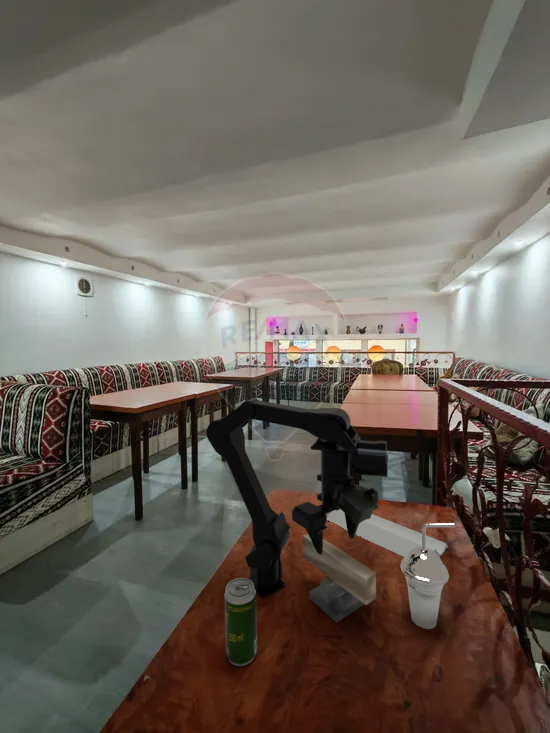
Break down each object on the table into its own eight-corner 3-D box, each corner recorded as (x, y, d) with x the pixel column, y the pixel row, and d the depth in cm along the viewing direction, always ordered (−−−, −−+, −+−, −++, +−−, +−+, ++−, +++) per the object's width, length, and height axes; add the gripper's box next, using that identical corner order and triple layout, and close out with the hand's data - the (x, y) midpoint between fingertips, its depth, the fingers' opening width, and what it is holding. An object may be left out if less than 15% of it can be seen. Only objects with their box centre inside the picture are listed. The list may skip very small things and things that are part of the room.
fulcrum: (336, 622, 66) (336, 595, 66) (309, 598, 73) (308, 573, 72) (364, 604, 71) (364, 578, 70) (336, 582, 77) (336, 559, 77)
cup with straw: (412, 596, 73) (413, 504, 71) (458, 621, 66) (459, 519, 65) (392, 618, 67) (392, 518, 66) (439, 648, 60) (441, 537, 59)
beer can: (256, 639, 63) (255, 575, 62) (258, 666, 57) (256, 597, 57) (226, 642, 62) (224, 578, 62) (225, 669, 57) (223, 600, 56)
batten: (366, 605, 63) (365, 578, 63) (302, 557, 78) (302, 535, 78) (375, 598, 65) (375, 572, 65) (312, 552, 80) (312, 531, 79)
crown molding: (447, 550, 90) (448, 537, 90) (427, 571, 82) (427, 557, 81) (348, 509, 113) (348, 498, 113) (324, 522, 105) (324, 511, 105)
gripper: (329, 497, 58) (331, 586, 59) (397, 472, 69) (397, 547, 70) (289, 477, 67) (291, 555, 68) (354, 458, 78) (355, 525, 79)
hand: (336, 545), depth 71 cm, fingers open, 9 cm apart
